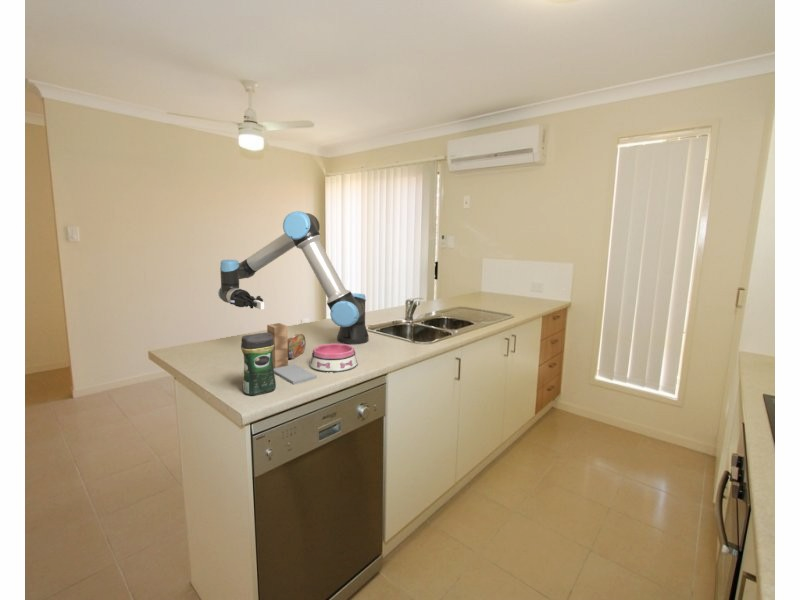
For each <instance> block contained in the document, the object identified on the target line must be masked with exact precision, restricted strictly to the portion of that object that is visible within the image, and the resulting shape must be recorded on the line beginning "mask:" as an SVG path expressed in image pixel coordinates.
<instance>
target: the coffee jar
mask: <svg viewBox="0 0 800 600" xmlns="http://www.w3.org/2000/svg"><path fill="white" fill-rule="evenodd" d="M240 345H241V346H240V347H241V349H240V350H241V352H242V354H243V361H244V362H243V381H242V390H243V392H244V393H245V394H246V395H249V396H257V395H258V396H259V395H262V394H265V393H269V392H273V391H274V390H275V389H276V388H277V387H276V386H277V384H276V376H275V375H276V374H274V369H273V361H272V352H273V349H274V342H273V337H272V335H271V334H269V333H267V332H262V333H261V332H260V333H259V332H258V333H252V334H247V335H242V336H241V343H240Z"/></svg>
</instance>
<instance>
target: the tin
mask: <svg viewBox="0 0 800 600" xmlns="http://www.w3.org/2000/svg"><path fill="white" fill-rule="evenodd" d="M287 341H288V360H289V359H290V360H294V359H296V358H298V357H299V356H301V355H303V353H304V352H305V350H306V338H305V335H304V334H303V333H301V334H300V333H299V334H298V333H297V334H294V335H292V336H291V337H289V338H288V337H287Z"/></svg>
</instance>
